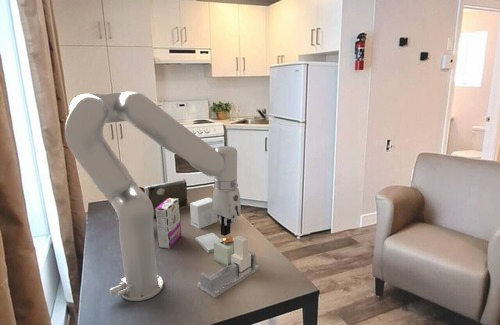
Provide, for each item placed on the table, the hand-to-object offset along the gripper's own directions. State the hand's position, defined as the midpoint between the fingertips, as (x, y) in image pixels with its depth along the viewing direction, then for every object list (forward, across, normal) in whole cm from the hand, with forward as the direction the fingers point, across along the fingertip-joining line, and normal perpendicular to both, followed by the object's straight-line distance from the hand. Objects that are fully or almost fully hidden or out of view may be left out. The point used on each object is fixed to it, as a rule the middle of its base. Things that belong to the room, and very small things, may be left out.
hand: (225, 234), depth 113 cm
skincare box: (+10, +30, -15) cm, 35 cm away
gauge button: (+9, 0, -1) cm, 9 cm away
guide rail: (+10, -8, +6) cm, 15 cm away
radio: (+11, +55, -13) cm, 58 cm away
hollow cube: (+10, 0, -1) cm, 10 cm away
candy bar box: (+11, +27, +5) cm, 29 cm away
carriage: (+9, -8, 0) cm, 12 cm away
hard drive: (+11, +14, -5) cm, 18 cm away
